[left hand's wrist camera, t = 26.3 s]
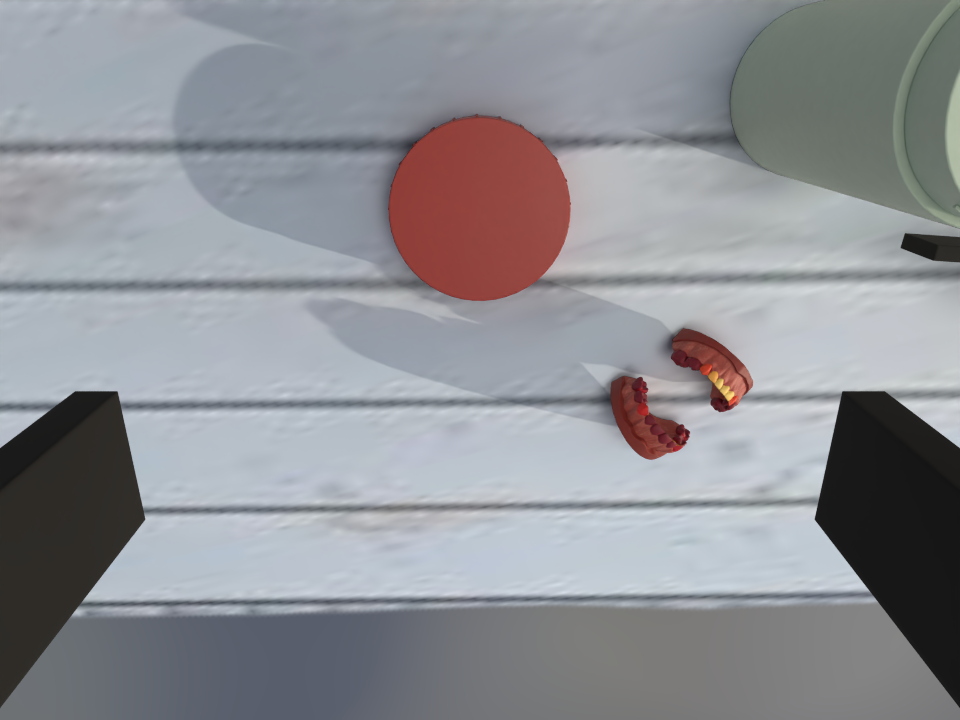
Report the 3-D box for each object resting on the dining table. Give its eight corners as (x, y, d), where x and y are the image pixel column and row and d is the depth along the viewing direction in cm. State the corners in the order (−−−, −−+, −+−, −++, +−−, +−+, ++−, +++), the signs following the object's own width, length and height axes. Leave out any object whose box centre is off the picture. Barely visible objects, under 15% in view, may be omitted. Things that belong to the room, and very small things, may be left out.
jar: (847, 195, 39) (1124, 279, 22) (704, 151, 38) (880, 203, 21) (926, 31, 36) (1317, -16, 19) (772, -21, 35) (1041, -119, 18)
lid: (439, 79, 37) (436, 79, 34) (599, 167, 38) (606, 172, 36) (365, 243, 40) (358, 253, 38) (515, 317, 42) (517, 330, 39)
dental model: (777, 405, 39) (662, 484, 41) (752, 377, 43) (648, 451, 45) (720, 334, 37) (604, 420, 40) (699, 312, 41) (595, 391, 43)
